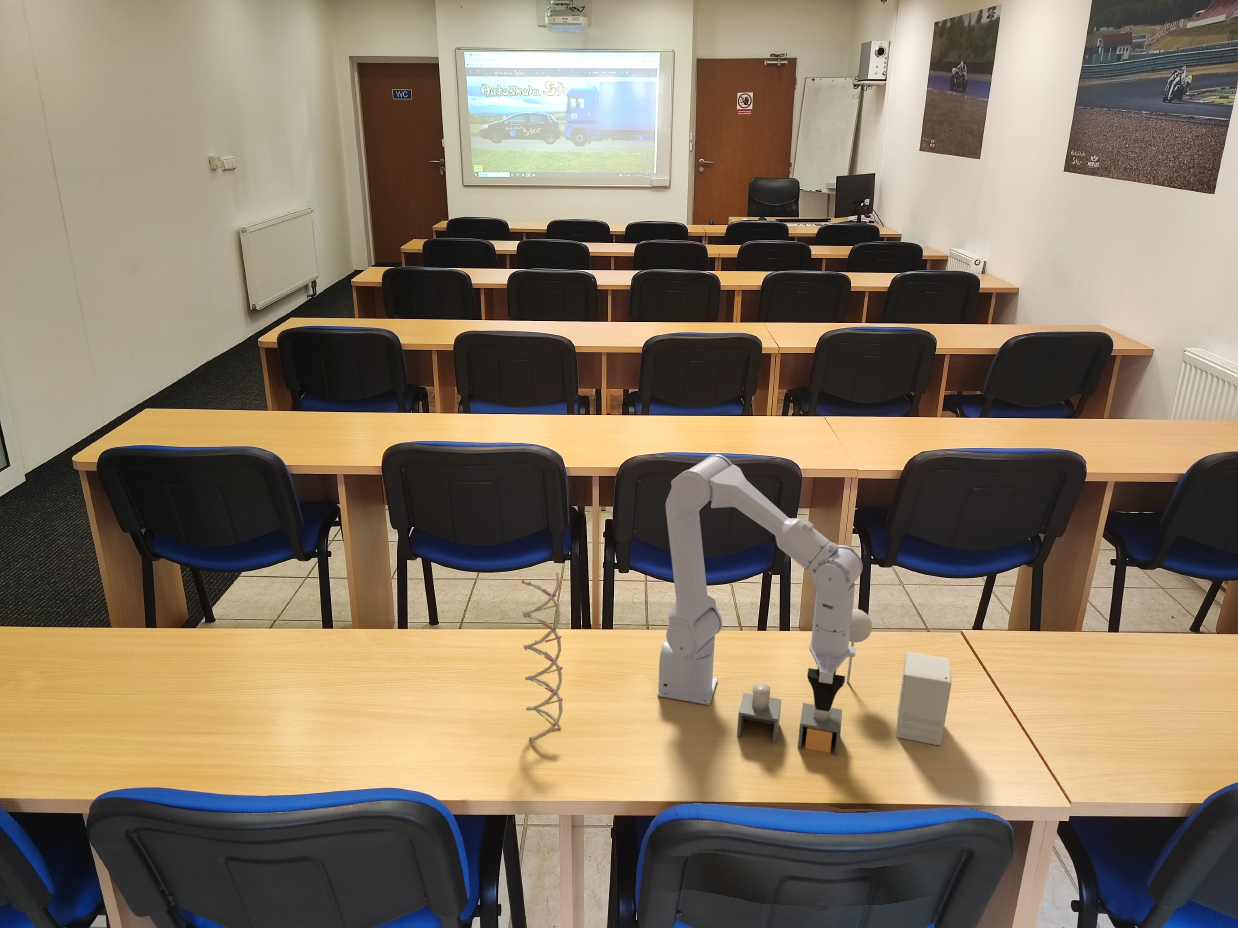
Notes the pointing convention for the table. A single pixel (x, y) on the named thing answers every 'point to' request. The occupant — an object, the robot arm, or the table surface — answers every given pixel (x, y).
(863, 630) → the lollipop
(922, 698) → the supplement box
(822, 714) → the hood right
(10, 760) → the table surface
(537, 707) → the dna model
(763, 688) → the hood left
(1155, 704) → the table surface
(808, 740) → the cube
